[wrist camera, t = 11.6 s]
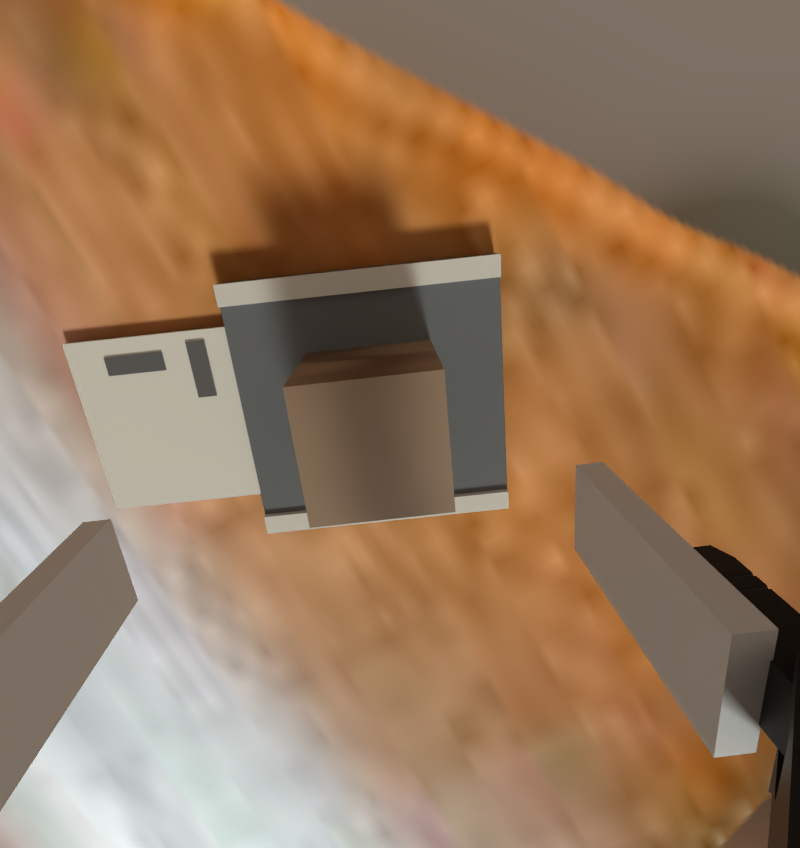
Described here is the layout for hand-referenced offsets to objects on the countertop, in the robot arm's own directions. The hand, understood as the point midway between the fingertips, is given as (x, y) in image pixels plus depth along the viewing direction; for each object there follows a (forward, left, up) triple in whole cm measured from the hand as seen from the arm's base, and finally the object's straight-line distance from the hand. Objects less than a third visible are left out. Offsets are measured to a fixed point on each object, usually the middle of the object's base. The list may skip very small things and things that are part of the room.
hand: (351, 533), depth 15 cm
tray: (0, 0, -12) cm, 12 cm away
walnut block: (+1, 0, -12) cm, 12 cm away
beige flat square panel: (-10, 0, -12) cm, 16 cm away
